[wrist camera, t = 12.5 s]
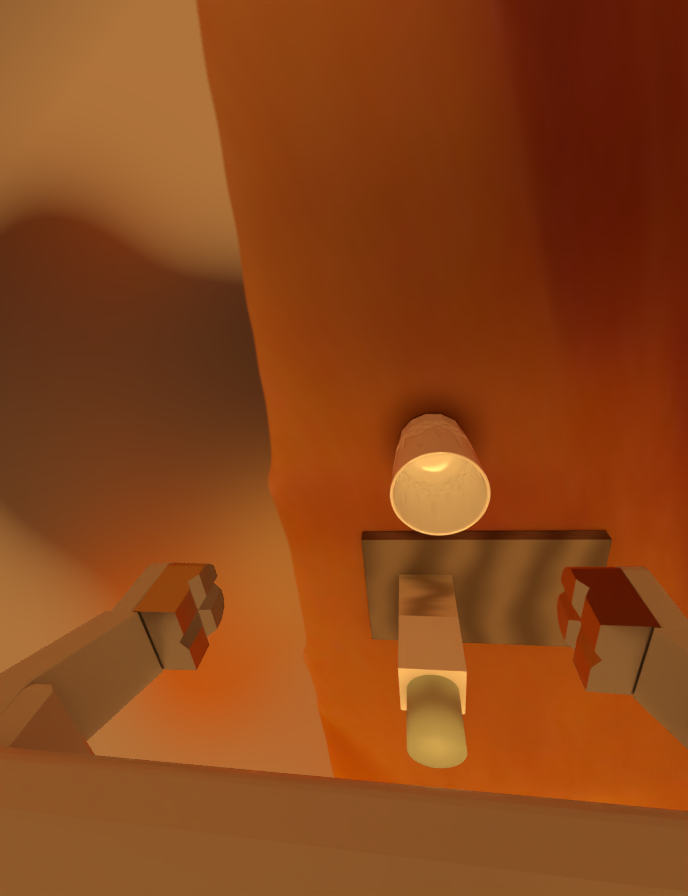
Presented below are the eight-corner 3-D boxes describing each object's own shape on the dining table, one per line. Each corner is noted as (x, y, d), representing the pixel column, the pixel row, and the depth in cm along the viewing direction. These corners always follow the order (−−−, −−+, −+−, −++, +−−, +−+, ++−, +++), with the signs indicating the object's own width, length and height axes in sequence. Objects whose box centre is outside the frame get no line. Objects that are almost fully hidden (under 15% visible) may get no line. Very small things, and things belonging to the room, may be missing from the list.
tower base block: (451, 575, 47) (458, 617, 41) (451, 613, 49) (457, 657, 44) (399, 574, 48) (398, 615, 42) (401, 611, 50) (401, 654, 45)
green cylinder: (459, 675, 36) (467, 735, 32) (459, 709, 38) (466, 770, 34) (405, 673, 37) (405, 730, 33) (407, 706, 39) (408, 765, 35)
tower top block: (458, 617, 41) (466, 671, 36) (457, 657, 44) (465, 714, 38) (398, 615, 42) (398, 668, 37) (401, 654, 45) (401, 709, 39)
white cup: (454, 394, 39) (469, 436, 30) (482, 461, 42) (504, 518, 33) (379, 425, 41) (373, 473, 33) (411, 487, 44) (413, 546, 35)
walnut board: (605, 530, 43) (611, 539, 42) (583, 636, 50) (588, 647, 49) (362, 531, 47) (361, 539, 46) (372, 629, 54) (372, 639, 53)
